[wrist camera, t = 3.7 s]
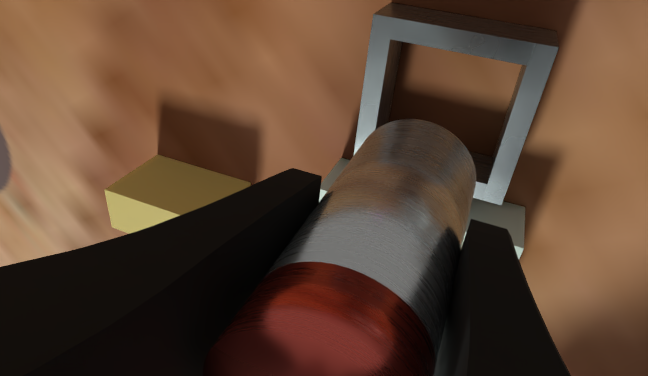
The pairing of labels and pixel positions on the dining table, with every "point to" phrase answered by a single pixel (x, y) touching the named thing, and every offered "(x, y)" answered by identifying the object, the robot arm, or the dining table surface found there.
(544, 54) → the pin socket
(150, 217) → the block
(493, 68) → the dining table surface
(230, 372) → the pin
